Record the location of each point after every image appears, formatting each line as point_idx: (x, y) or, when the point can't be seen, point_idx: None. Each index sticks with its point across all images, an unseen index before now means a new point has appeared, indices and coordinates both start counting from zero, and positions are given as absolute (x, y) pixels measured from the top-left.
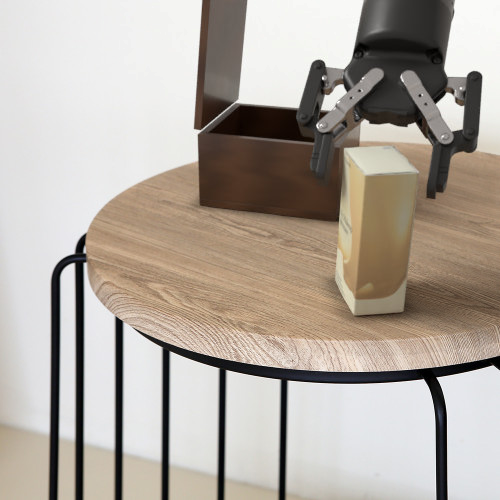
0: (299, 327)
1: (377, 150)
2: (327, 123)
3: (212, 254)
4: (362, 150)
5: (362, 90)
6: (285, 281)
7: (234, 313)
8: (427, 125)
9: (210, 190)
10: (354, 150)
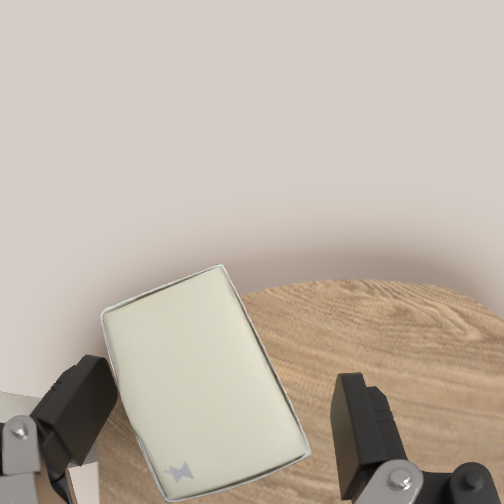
0: (308, 302)
1: (204, 448)
2: (390, 489)
3: (451, 431)
4: (250, 440)
5: None
6: None
7: (384, 309)
8: (46, 480)
9: None
10: (275, 437)
